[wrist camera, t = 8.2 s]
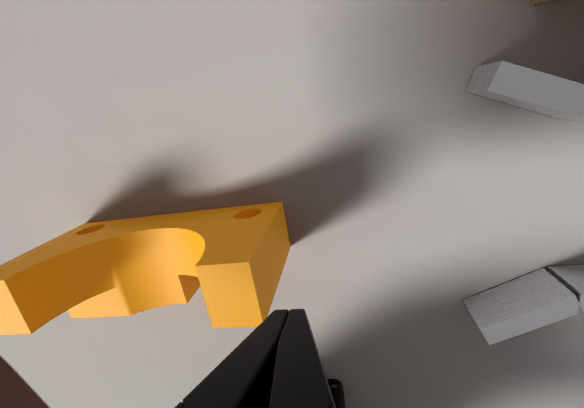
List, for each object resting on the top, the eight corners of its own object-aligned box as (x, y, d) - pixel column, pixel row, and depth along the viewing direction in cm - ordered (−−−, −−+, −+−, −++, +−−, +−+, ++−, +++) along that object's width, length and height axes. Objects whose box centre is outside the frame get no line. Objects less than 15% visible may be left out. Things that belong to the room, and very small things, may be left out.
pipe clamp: (112, 284, 20) (12, 367, 14) (88, 221, 18) (-35, 282, 12) (296, 272, 17) (272, 365, 11) (283, 200, 16) (248, 261, 10)
